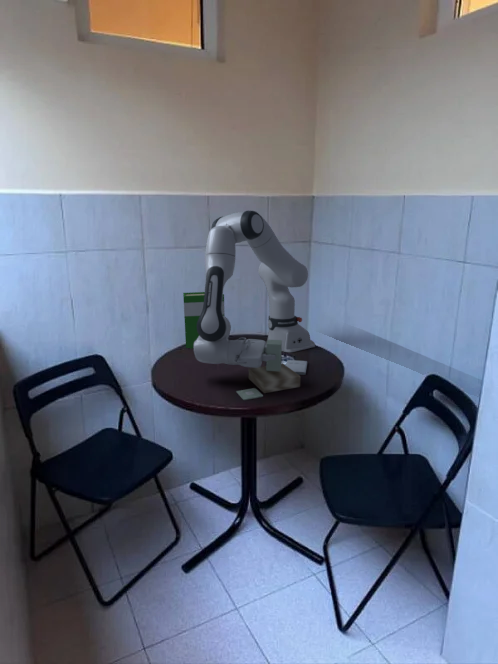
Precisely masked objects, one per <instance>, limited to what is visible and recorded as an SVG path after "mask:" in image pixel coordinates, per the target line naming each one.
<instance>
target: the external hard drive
mask: <svg viewBox="0 0 498 664" xmlns="http://www.w3.org/2000/svg"><path fill="white" fill-rule="evenodd" d="M285 365H286V366H287V367H288V368H290V369H291V370H293V371H294V372H295V373H297V374H298V375H299V376H301V375H302V376H304V375H306V373H307V367H308V361H307V360H293V359H291V360H290V359H288V360H286V363H285Z"/></svg>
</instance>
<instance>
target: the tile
mask: <svg viewBox="0 0 498 664" xmlns="http://www.w3.org/2000/svg"><path fill="white" fill-rule="evenodd" d="M235 392H236V393H237V394H238V396H239V397H240V398H241V399H242V400H243V401H248V400H252V399H253V400H254V399H258V398H263V397H264V395H263V394H262V393H261V392H260V391H259V390H258V389H257V388H256V387H253V388H247V389H243V390H242V389H241V390H236V391H235Z"/></svg>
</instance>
